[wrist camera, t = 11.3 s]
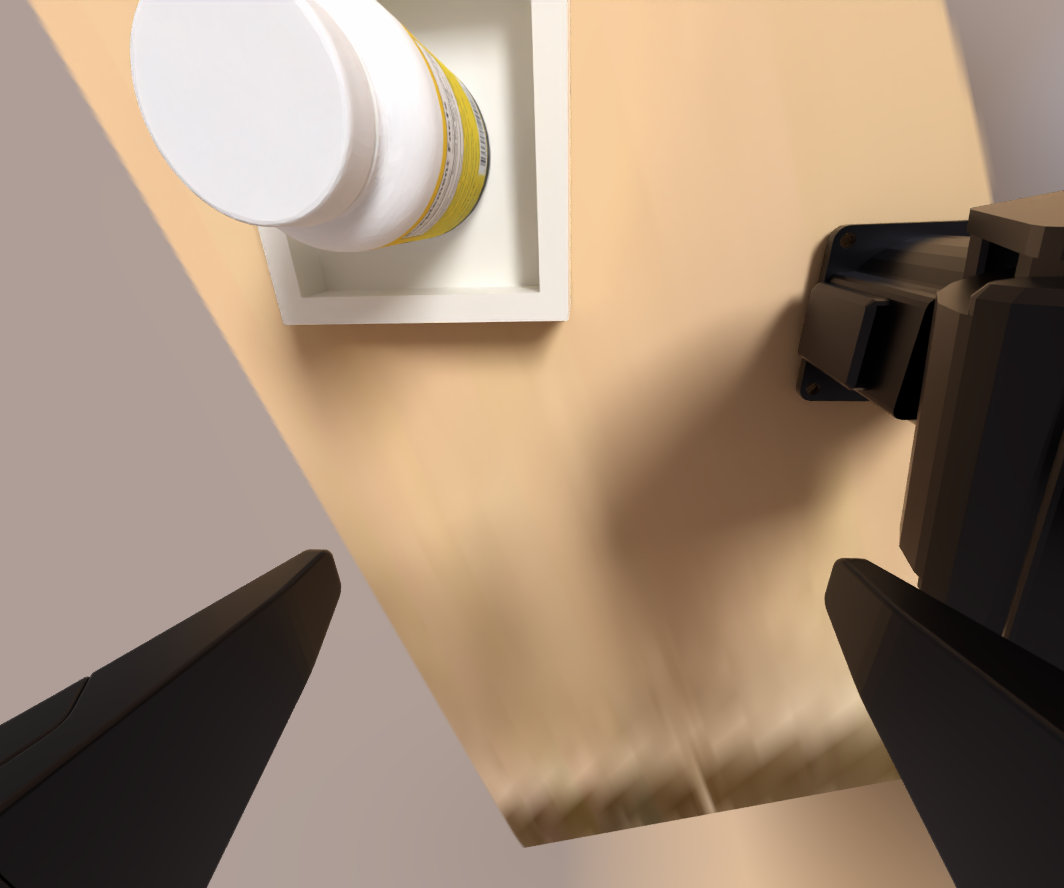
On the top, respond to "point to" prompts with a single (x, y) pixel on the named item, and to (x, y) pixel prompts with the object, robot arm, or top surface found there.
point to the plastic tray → (506, 206)
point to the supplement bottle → (310, 118)
